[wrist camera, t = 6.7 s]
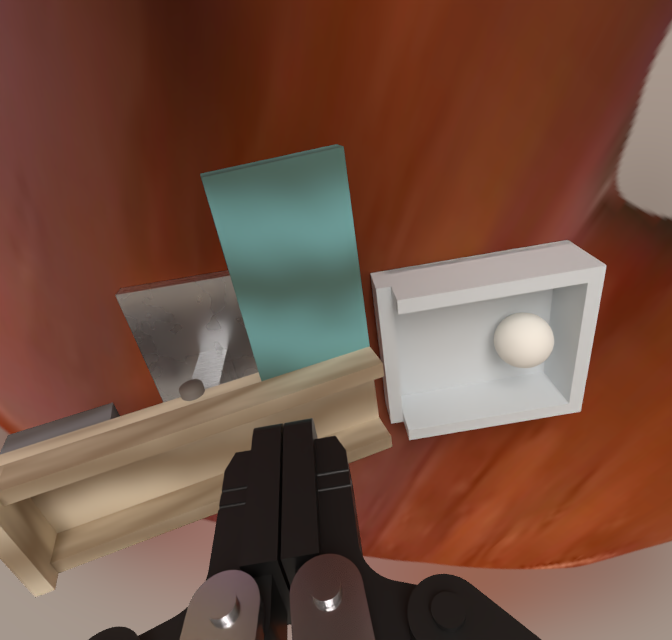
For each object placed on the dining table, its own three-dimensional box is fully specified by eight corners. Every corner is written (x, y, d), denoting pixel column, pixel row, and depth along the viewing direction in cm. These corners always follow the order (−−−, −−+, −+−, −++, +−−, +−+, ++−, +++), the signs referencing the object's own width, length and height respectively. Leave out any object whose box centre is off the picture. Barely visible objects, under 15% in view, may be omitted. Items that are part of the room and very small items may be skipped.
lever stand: (120, 288, 30) (84, 335, 25) (265, 263, 30) (259, 305, 25) (192, 453, 39) (177, 513, 33) (307, 433, 38) (309, 491, 33)
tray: (370, 273, 31) (381, 303, 27) (567, 239, 31) (606, 265, 27) (385, 402, 37) (396, 442, 34) (550, 374, 37) (580, 411, 34)
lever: (-135, 236, 20) (-242, 292, 15) (322, 139, 25) (366, 154, 20) (61, 510, 30) (39, 602, 25) (363, 403, 35) (399, 462, 29)
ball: (570, 323, 30) (533, 297, 33) (515, 338, 29) (483, 310, 33) (563, 371, 32) (529, 342, 35) (512, 385, 31) (482, 354, 35)
